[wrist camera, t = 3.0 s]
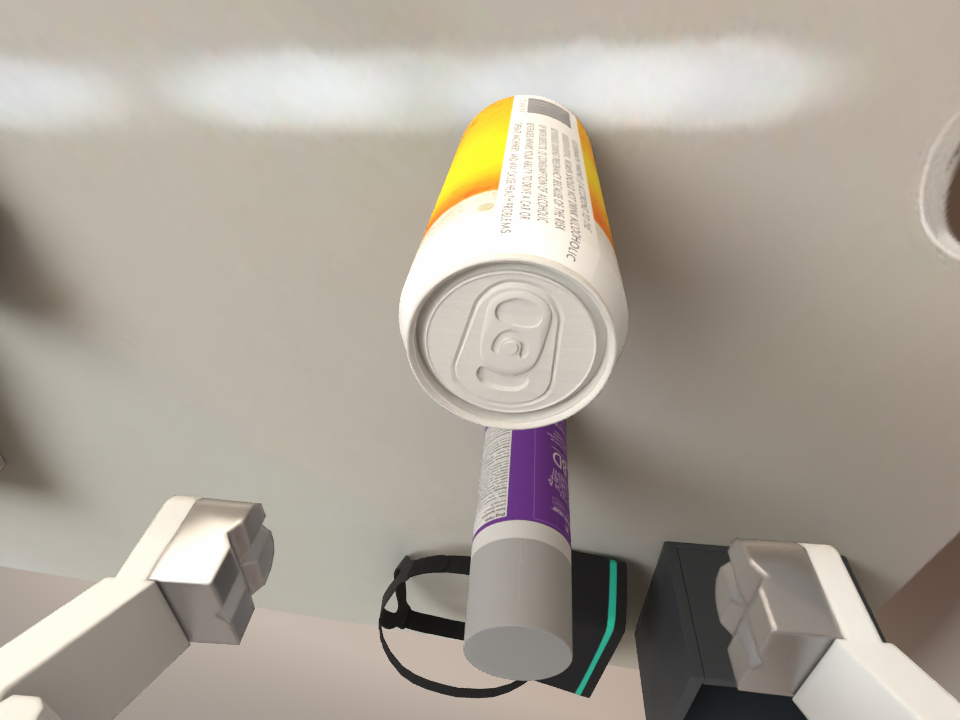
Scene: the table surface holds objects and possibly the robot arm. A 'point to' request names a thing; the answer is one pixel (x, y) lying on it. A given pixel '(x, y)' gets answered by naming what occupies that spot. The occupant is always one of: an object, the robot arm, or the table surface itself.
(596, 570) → the virtual reality headset
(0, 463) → the book
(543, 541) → the container
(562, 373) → the beer can
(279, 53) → the table surface
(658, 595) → the trash bin
